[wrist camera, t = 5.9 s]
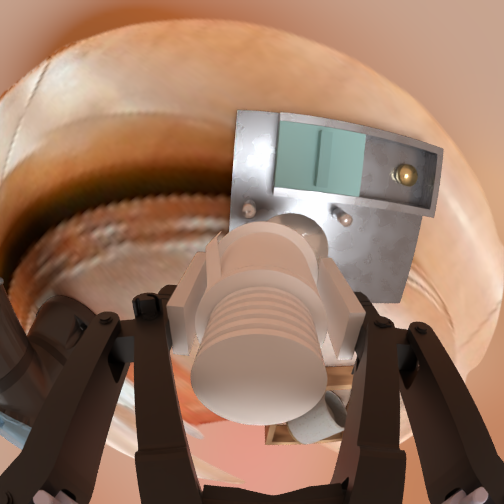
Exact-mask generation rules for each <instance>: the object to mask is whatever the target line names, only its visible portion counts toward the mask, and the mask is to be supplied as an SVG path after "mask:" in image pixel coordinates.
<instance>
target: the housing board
mask: <svg viewBox="0 0 504 504" xmlns="http://www.w3.org/2000/svg"><path fill="white" fill-rule="evenodd" d="M280 121H287V122H295V123H303V124H310V125H317V126H323V127H330V128H335V129H341V130H346V131H351V132H356V133H361V134H366V139H365V150H364V160H363V169H362V177H361V185H360V193H359V197H356V196H349V195H342V194H334V193H326V192H318V191H310V190H300V189H291V188H280V187H274V175H275V163H276V152H277V140H278V127H279V122H280ZM442 160H443V148H440V147H437V146H434V145H431V144H428V143H425V142H422V141H419V140H416V139H413V138H409V137H406V136H402V135H399V134H395V133H391V132H388V131H384V130H380V129H376V128H372V127H367V126H363V125H358V124H354V123H349V122H344V121H339V120H333V119H327V118H321V117H315V116H308V115H301V114H293V113H285V112H280V113H275V112H264V111H250V110H237V120H236V133H235V146H234V160H233V174H232V190H231V206H230V224H229V232H230V231H232V230H233V229H235V228H237V227H239V226H242V225H244V224H247V223H252V222H259V221H266V222H274V223H279V224H282V225H285V226H287V227H289V228H291V229H293V230H294V231H296V232H297V233H299V234H300V235H301V236H302V237H303V238H304V239H305V240H306V241H307V243H308V244H309V245H310V247H311V249H312V250H313V252H314V255H315V257H316V261H317V265H318V269H319V261H320V257H329V258H332V259H333V261H334V262H335V264H336V265H337V267H338V269H339V270H340V272H341V273H342V275H343V276H344V278H345V279H346V281H347V283H348V284H349V286H350V287H351V289H352V291H353V292H362V293H363V294H365V295H366V296H367V297H368V299H369V300H370V302H371V303H400V301H401V298H402V294H403V291H404V288H405V285H406V281H407V278H408V274H409V271H410V267H411V264H412V260H413V256H414V252H415V248H416V244H417V239H418V235H419V230H420V225H421V220H422V216H427V217H432V218H434V215H435V210H436V204H437V198H438V192H439V185H440V178H441V169H442Z"/></svg>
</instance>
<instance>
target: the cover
mask: <svg viewBox="0 0 504 504" xmlns="http://www.w3.org/2000/svg"><path fill="white" fill-rule="evenodd" d="M365 139H366V134H361V133H356V132H351V131H346V130H341V129H335V128H330V127H323V126H317V125H310V124H303V123H295V122H287V121H280V122H279V127H278V140H277V152H276V163H275V175H274V187H280V188H291V189H300V190H310V191H318V192H326V193H334V194H342V195H349V196H356V197H359V193H360V185H361V177H362V169H363V160H364V150H365Z"/></svg>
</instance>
